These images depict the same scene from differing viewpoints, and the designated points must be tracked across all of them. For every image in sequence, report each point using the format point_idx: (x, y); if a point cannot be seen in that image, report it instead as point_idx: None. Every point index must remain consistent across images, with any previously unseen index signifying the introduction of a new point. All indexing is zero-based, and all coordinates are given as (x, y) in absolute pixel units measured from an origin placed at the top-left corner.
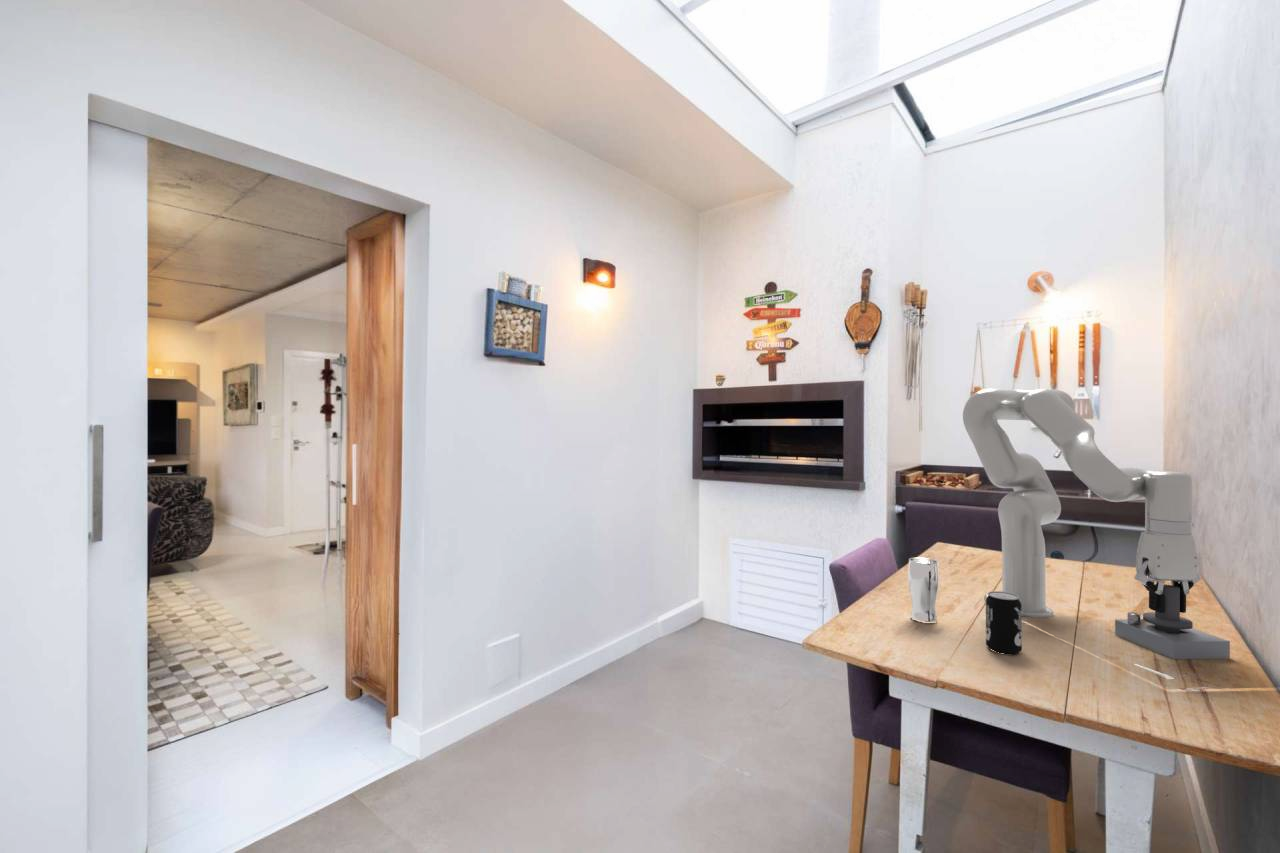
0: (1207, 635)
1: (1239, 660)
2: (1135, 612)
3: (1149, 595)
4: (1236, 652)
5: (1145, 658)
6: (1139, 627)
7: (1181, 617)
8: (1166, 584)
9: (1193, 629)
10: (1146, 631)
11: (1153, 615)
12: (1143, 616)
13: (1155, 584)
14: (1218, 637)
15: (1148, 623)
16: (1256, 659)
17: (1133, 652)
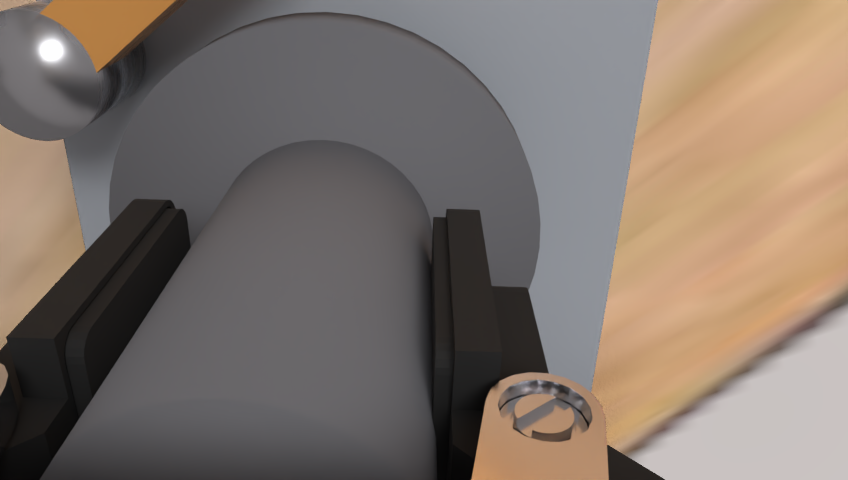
0: (546, 351)
1: (625, 363)
2: (96, 22)
3: (1, 355)
4: (784, 250)
5: (23, 299)
6: (98, 125)
7: (524, 226)
8: (366, 445)
9: (597, 213)
10: (84, 231)
11: (249, 142)
12: (131, 124)
13: (91, 430)
14: (589, 389)
15: (303, 10)
16: (758, 357)
17: (12, 202)
